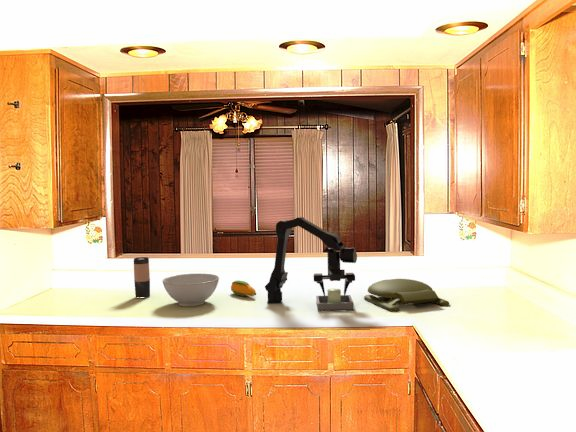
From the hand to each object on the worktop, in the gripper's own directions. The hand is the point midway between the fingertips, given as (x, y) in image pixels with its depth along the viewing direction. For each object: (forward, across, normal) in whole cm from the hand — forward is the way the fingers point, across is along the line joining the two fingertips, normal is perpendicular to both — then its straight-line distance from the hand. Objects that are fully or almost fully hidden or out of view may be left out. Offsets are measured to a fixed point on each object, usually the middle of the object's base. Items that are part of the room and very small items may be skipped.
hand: (334, 295), depth 265 cm
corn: (+6, -44, +27) cm, 52 cm away
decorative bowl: (+5, -68, +13) cm, 70 cm away
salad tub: (+4, 0, 0) cm, 4 cm away
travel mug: (+5, -96, +29) cm, 101 cm away
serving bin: (+5, 0, 0) cm, 5 cm away
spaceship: (+6, +33, +9) cm, 34 cm away
